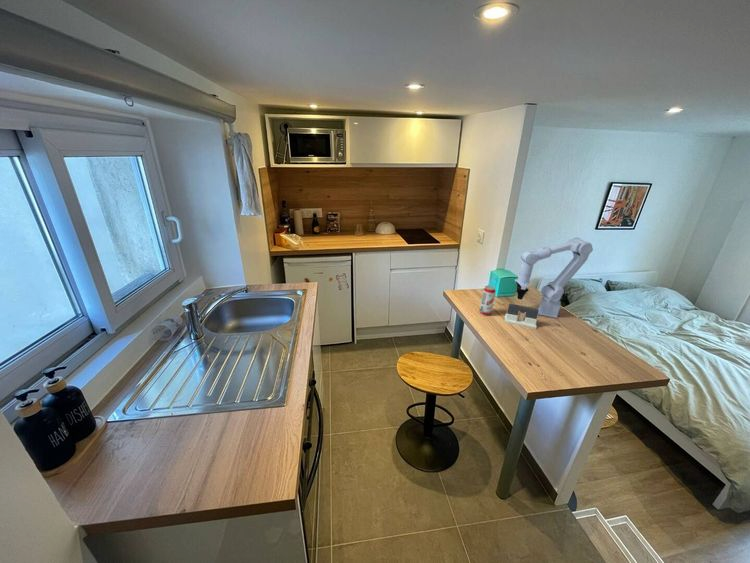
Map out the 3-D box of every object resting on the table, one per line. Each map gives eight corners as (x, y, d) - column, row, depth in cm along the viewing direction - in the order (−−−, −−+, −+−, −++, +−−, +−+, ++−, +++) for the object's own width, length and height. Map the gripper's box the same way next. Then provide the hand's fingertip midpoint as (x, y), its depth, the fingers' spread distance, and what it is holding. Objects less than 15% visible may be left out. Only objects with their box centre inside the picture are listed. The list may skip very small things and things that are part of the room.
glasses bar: (535, 316, 152) (538, 308, 150) (536, 319, 149) (538, 311, 147) (507, 311, 156) (509, 303, 154) (507, 313, 154) (509, 305, 152)
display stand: (534, 320, 155) (537, 311, 153) (536, 328, 149) (539, 318, 146) (504, 315, 160) (507, 305, 158) (505, 322, 154) (507, 312, 151)
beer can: (476, 311, 163) (481, 286, 157) (485, 309, 166) (490, 284, 159) (484, 316, 158) (490, 291, 152) (493, 314, 161) (498, 289, 154)
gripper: (516, 267, 161) (510, 289, 167) (517, 277, 149) (511, 300, 154) (530, 269, 159) (524, 291, 164) (532, 279, 146) (526, 302, 152)
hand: (519, 296), depth 159 cm, fingers open, 7 cm apart
